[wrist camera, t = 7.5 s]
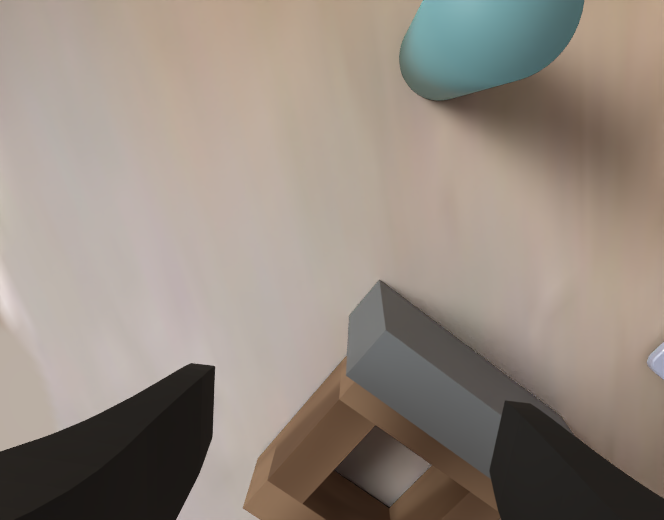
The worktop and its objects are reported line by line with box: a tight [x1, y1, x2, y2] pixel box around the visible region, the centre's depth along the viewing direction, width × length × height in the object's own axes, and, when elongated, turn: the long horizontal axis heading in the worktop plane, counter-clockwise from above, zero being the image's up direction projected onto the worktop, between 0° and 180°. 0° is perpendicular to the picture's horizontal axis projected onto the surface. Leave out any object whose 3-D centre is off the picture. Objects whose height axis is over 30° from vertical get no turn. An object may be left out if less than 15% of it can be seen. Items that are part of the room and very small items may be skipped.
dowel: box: [399, 0, 584, 101], centre depth 14 cm, size 3×3×8 cm
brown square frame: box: [243, 356, 501, 520], centre depth 20 cm, size 8×8×3 cm
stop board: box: [346, 280, 573, 479], centre depth 18 cm, size 10×2×5 cm, turn 53°
